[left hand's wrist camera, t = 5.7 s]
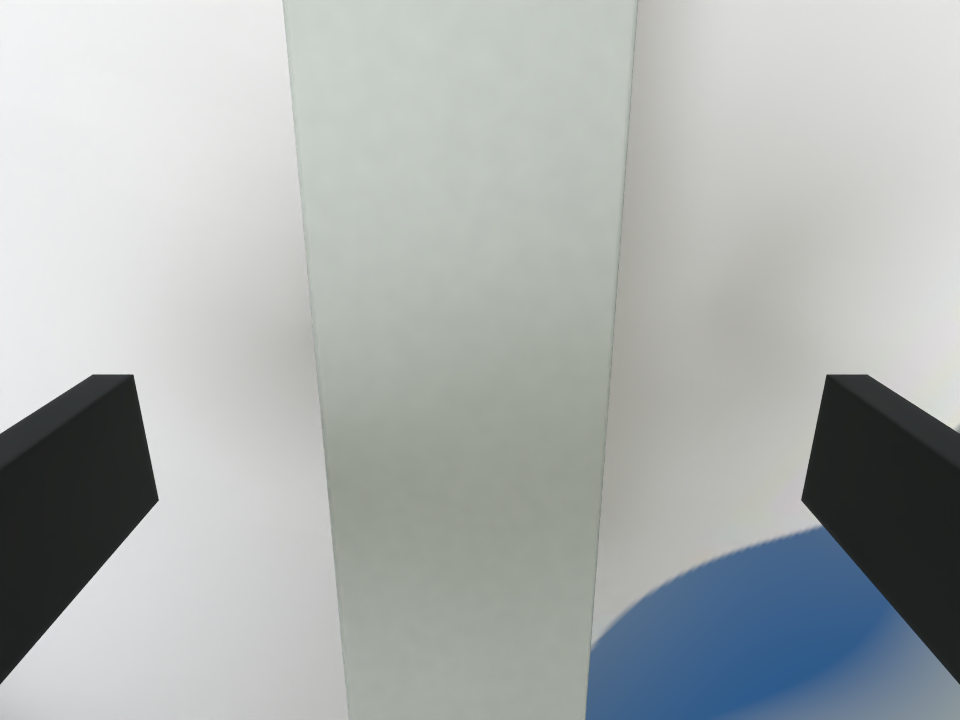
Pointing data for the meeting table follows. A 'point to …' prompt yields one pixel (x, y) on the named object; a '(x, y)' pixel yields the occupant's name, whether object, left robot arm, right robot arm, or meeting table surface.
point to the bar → (463, 335)
